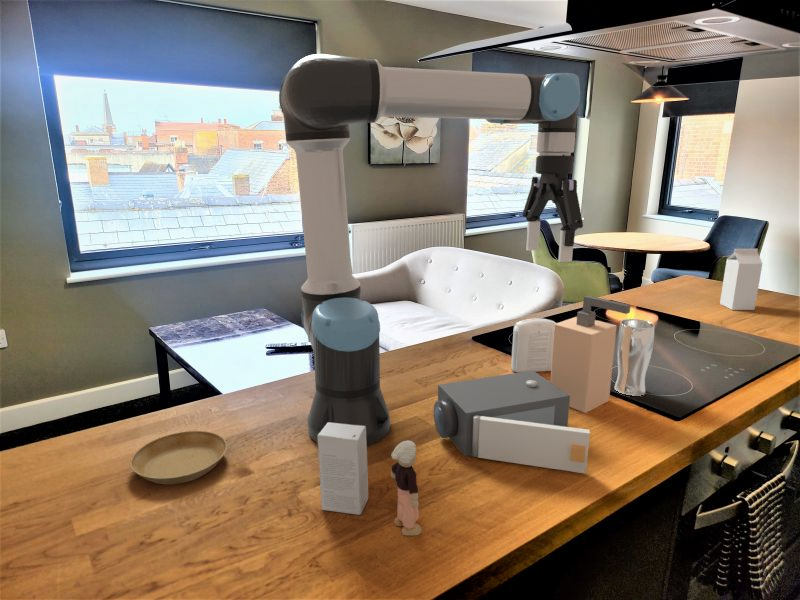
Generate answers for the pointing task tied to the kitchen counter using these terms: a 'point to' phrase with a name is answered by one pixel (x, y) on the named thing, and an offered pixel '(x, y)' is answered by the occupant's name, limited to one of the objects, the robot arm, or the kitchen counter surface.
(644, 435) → the kitchen counter surface
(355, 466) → the skincare box
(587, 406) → the soap dispenser
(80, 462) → the kitchen counter surface
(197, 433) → the plant saucer
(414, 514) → the grandmother figurine
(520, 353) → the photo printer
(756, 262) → the milk carton
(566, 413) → the camera housing
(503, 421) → the side door
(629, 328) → the beer glass
